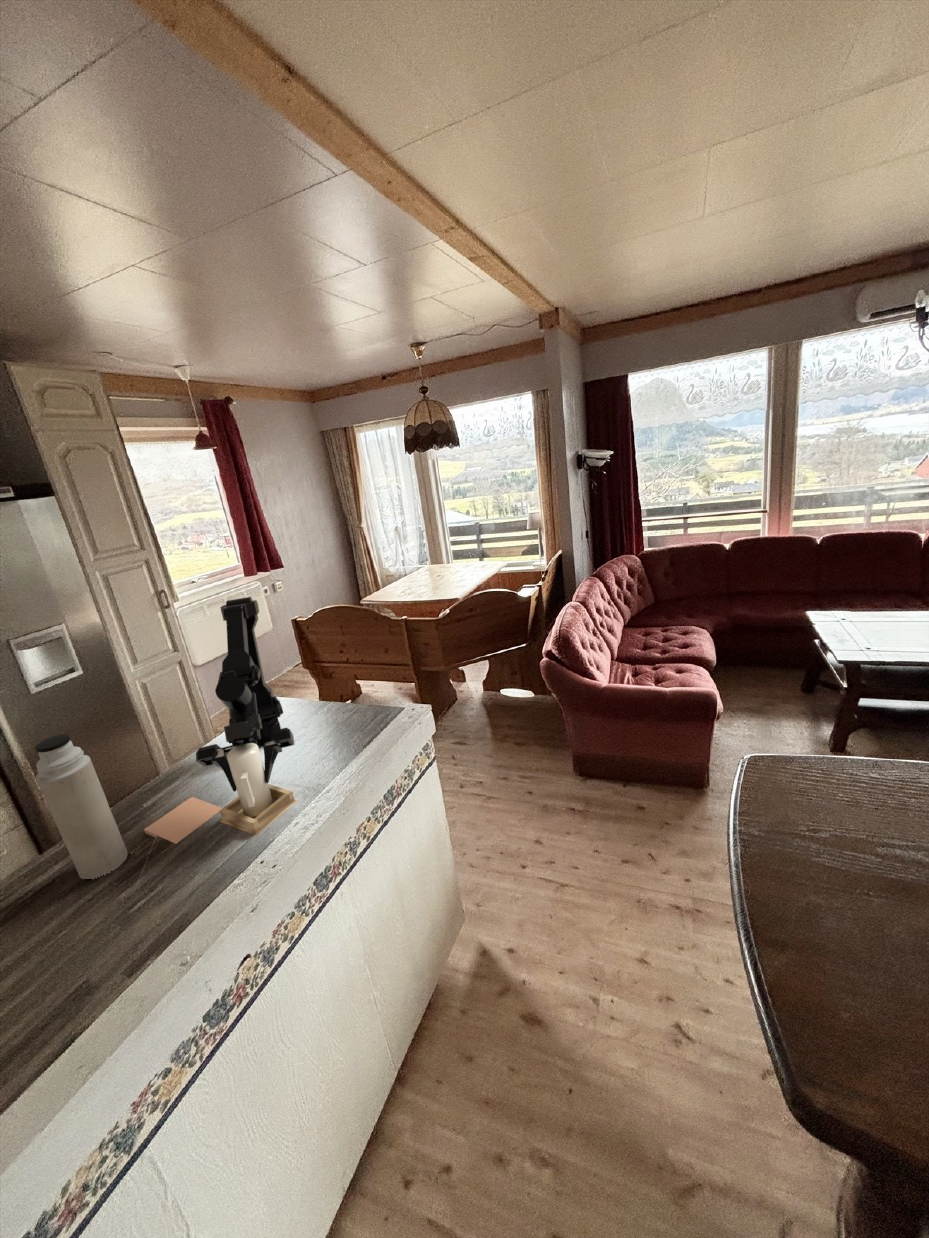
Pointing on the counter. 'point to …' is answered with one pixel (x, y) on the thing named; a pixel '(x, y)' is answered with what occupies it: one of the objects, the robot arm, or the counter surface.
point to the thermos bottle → (79, 807)
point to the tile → (182, 820)
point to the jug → (250, 778)
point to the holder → (256, 824)
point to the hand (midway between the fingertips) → (251, 786)
